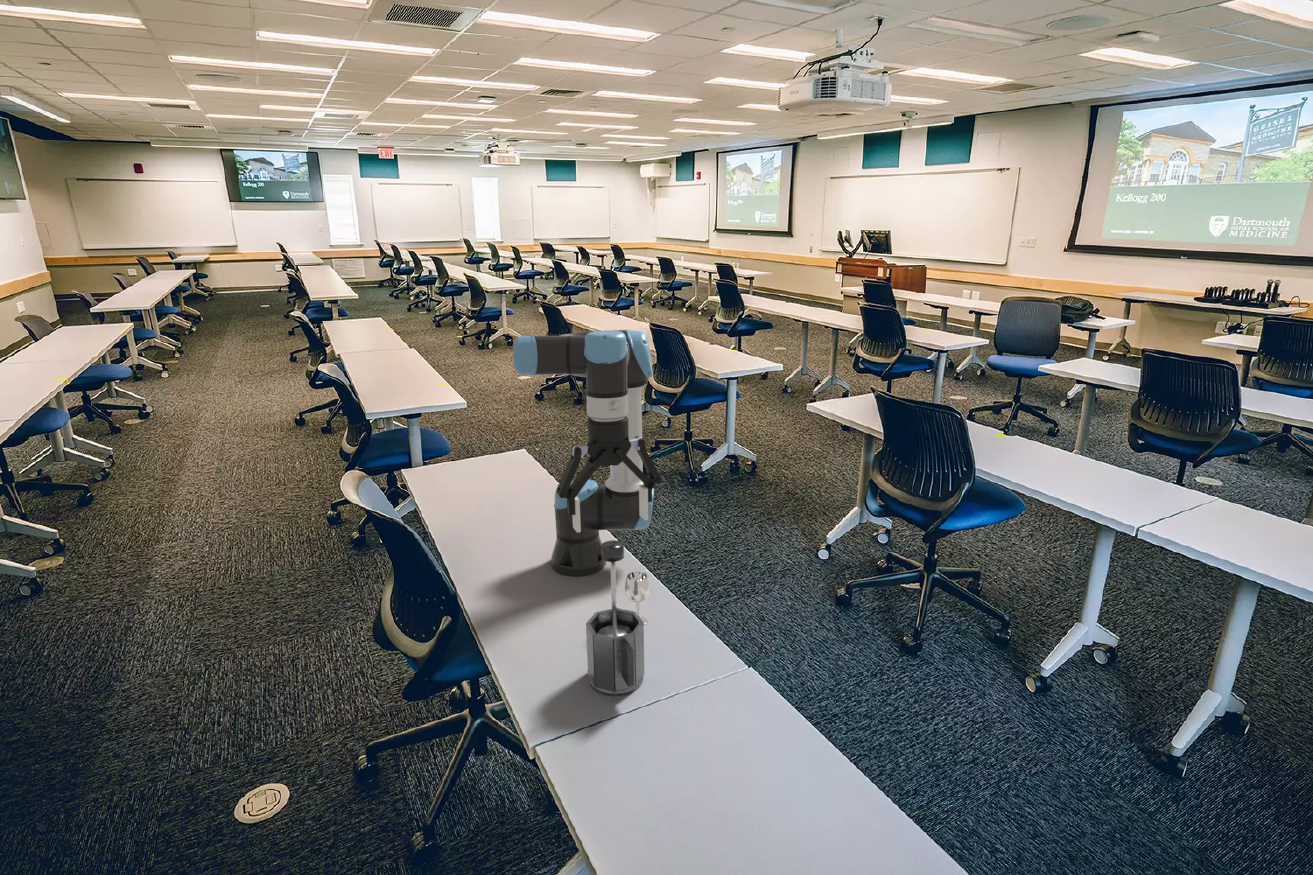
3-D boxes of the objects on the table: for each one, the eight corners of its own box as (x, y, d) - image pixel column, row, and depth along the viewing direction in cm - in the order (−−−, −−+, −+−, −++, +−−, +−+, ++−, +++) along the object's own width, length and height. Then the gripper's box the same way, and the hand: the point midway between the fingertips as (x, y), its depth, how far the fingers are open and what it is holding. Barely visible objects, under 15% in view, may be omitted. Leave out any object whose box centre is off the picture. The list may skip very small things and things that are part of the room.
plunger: (592, 632, 141) (588, 541, 135) (625, 624, 144) (623, 534, 138) (604, 651, 135) (600, 556, 129) (638, 642, 137) (636, 549, 131)
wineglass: (638, 612, 166) (637, 567, 163) (655, 621, 162) (654, 575, 159) (620, 621, 162) (619, 576, 159) (637, 631, 159) (636, 584, 155)
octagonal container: (582, 669, 145) (579, 615, 141) (631, 656, 149) (630, 603, 145) (604, 711, 132) (602, 652, 129) (657, 695, 137) (657, 639, 133)
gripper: (546, 429, 118) (552, 542, 124) (678, 414, 127) (678, 519, 133) (535, 419, 124) (542, 527, 131) (662, 405, 134) (662, 506, 140)
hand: (611, 523), depth 132 cm, fingers open, 13 cm apart
